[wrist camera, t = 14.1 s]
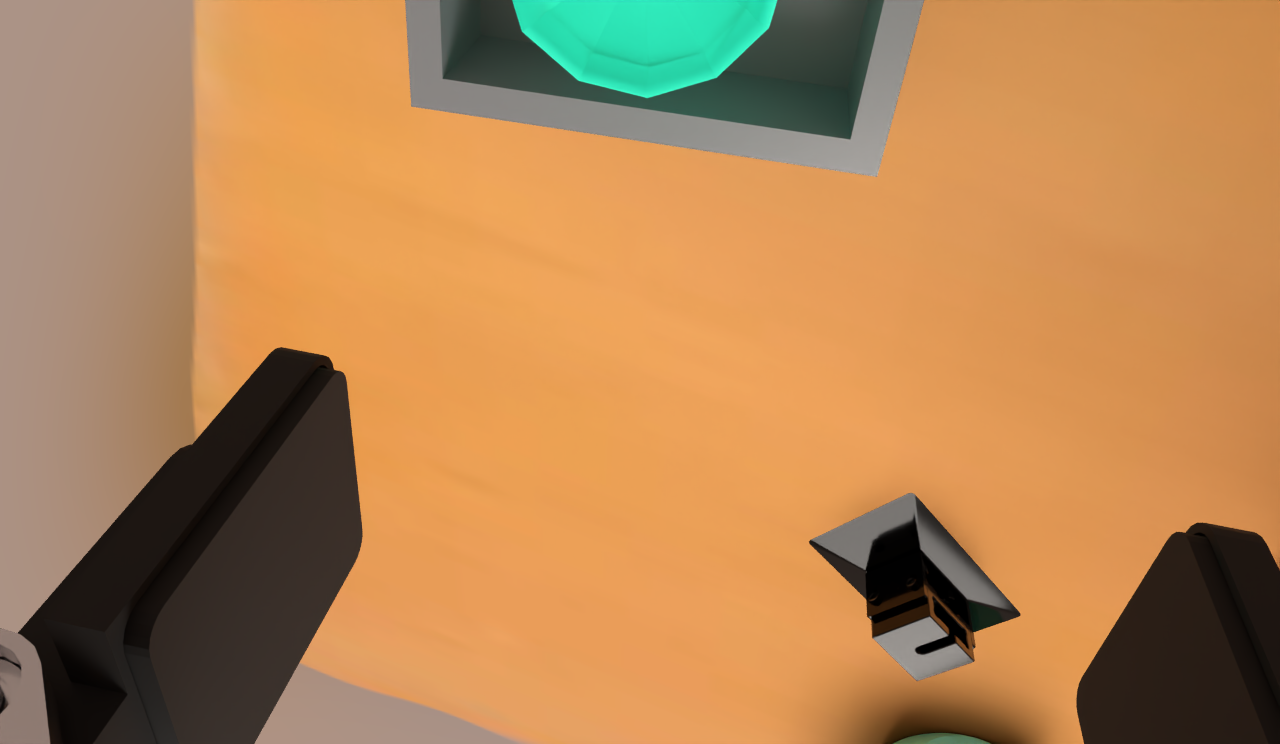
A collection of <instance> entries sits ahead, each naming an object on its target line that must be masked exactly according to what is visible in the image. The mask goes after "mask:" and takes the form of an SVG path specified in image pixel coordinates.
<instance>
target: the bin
mask: <svg viewBox="0 0 1280 744" xmlns="http://www.w3.org/2000/svg"><path fill="white" fill-rule="evenodd" d="M405 3H406V21H407V39H408V56H409V74H410V92H411V106H412V107H418V108H425V109H431V110H438V111H445V112H451V113H458V114H465V115H471V116H478V117H484V118H491V119H498V120H504V121H511V122H518V123H524V124H531V125H537V126H544V127H551V128H557V129H564V130H570V131H577V132H584V133H590V134H597V135H604V136H610V137H617V138H623V139H630V140H637V141H643V142H650V143H657V144H663V145H670V146H676V147H683V148H690V149H696V150H703V151H710V152H716V153H723V154H729V155H736V156H743V157H749V158H756V159H763V160H769V161H776V162H782V163H789V164H796V165H802V166H809V167H815V168H822V169H829V170H835V171H842V172H849V173H855V174H862V175H868V176H875V177H877V175H878V171H879V167H880V164H881V160H882V156H883V152H884V149H885V145H886V141H887V137H888V134H889V130H890V126H891V122H892V119H893V115H894V111H895V108H896V104H897V100H898V96H899V93H900V89H901V85H902V81H903V78H904V74H905V70H906V66H907V63H908V59H909V55H910V51H911V48H912V44H913V40H914V36H915V33H916V29H917V25H918V21H919V18H920V14H921V10H922V6H923V3H924V0H777V3H776V6H775V10H774V13H773V16H772V20H771V23H770V26H769V28H768V29H767V30H766V31H765V32H764V33H763V34H762V35H761V36H760V37H759V38H758V39H757V40H756V41H755V42H754V43H753V44H752V45H751V46H749V47H748V48H747V49H746V50H745V51H744V52H743V53H742V54H741V55H740V56H739V57H738V58H737V59H736V60H735V61H734V62H733V63H732V64H731V65H730V66H728V67H727V68H726V69H725V70H724V71H723V72H722V73H721V74H720V75H719V76H718V77H717V78H714V79H711V80H708V81H704V82H701V83H697V84H694V85H691V86H687V87H684V88H680V89H677V90H674V91H670V92H667V93H663V94H660V95H657V96H653V97H650V98H645V97H641V96H637V95H633V94H629V93H625V92H621V91H617V90H613V89H609V88H605V87H601V86H597V85H593V84H589V83H585V82H581V81H578V80H577V79H576V78H575V77H574V76H572V75H571V74H570V73H569V72H568V71H567V70H565V69H564V68H563V67H562V66H561V65H560V64H559V63H557V62H556V61H555V60H554V59H553V58H552V57H551V56H549V55H548V54H547V53H546V52H545V51H544V50H542V49H541V48H540V47H539V46H538V45H537V44H536V43H534V42H533V41H532V40H531V39H530V38H529V37H528V36H526V35H525V34H524V33H523V32H522V30H521V27H520V24H519V20H518V17H517V14H516V11H515V8H514V4H513V1H512V0H405Z"/></svg>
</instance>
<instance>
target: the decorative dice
mask: <svg viewBox="0 0 1280 744" xmlns="http://www.w3.org/2000/svg"><path fill="white" fill-rule="evenodd" d="M893 744H991V743H989V742H986V741H984V740H981V739H978V738H975V737H971V736H967V735H961V734H953V733H928V734H920V735H915V736H911V737H907V738H904V739H902V740H899V741H897V742H895V743H893Z"/></svg>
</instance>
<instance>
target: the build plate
mask: <svg viewBox="0 0 1280 744" xmlns="http://www.w3.org/2000/svg"><path fill="white" fill-rule="evenodd" d="M809 543H810V545H811V546H812V547H814V548H815V549H816V550H817V551H818V552H819V553H820V554H821V555H822V556H823V557H824V558H825V559H826V560H827V561H828V562H829V563H830V564H831V565H832V566H833V567H834V568H835V569H836V570H837V571H838V572H839V573H840V574H841V575H842V576H843V577H844V578H845V579H846V580H847V581H848V582H849V583H850V584H851V585H852V586H853V587H854V588H855V589H856V590H857V591H858V592H859V593H860V594H861V595H862V596H863V597H864V598H865V599H866V601H867V617H868V618H869V619H870V620H871V625H872V638H873V639H874V640H875V641H876V642H877V643H878V644H879V645H880V646H881V647H882V648H883V649H884V650H885V651H886V652H887V653H888V654H889V655H890V656H891V657H892V658H893V659H895V660H896V661H897V662H898V663H899V664H900V665H901V666H902V667H903V668H904V669H905V670H906V671H907V672H908V673H909V674H910V675H911V676H912V677H913V678H914V679H915V680H916V681H919V680H922V679H925V678H928V677H931V676H934V675H937V674H940V673H942V672H945V671H948V670H951V669H954V668H957V667H960V666H963V665H966V664H969V663H972V662H974V654H973V649H974V648H975V640H974V633H973V632H976V631H979V630H982V629H984V628H987V627H990V626H993V625H996V624H999V623H1002V622H1005V621H1008V620H1010V619H1013V618H1016V617H1019V616H1020V613H1019V611H1018V610H1017V609H1016V608H1015V607H1014V606H1013V605H1012V603H1011V602H1010V601H1009V600H1008V599H1007V598H1006V597H1005V596H1004V594H1003V593H1002V592H1001V591H1000V590H999V589H998V588H997V587H996V585H995V584H994V583H993V582H992V581H991V580H990V579H989V578H988V576H987V575H986V574H985V573H984V572H983V571H982V570H981V569H980V567H979V566H978V565H977V564H976V563H975V562H974V561H973V560H972V558H971V557H970V556H969V555H968V554H967V553H966V552H965V551H964V549H963V548H962V547H961V546H960V545H959V544H958V543H957V542H956V540H955V539H954V538H953V537H952V536H951V535H950V534H949V533H948V531H947V530H946V529H945V528H944V527H943V526H942V525H941V523H940V522H939V521H938V520H937V519H936V518H935V517H934V516H933V514H932V513H931V512H930V511H929V510H928V509H927V508H926V507H925V505H924V504H923V503H922V502H921V501H920V500H919V499H918V498H917V496H916V495H915V494H913V493H908V494H906V495H904V496H902V497H900V498H898V499H896V500H894V501H891V502H889V503H887V504H885V505H883V506H881V507H879V508H877V509H875V510H873V511H870V512H868V513H866V514H864V515H862V516H860V517H858V518H856V519H854V520H852V521H849V522H847V523H845V524H843V525H841V526H839V527H837V528H835V529H833V530H831V531H828V532H826V533H824V534H822V535H820V536H818V537H816V538H814V539H812V540H810V541H809Z"/></svg>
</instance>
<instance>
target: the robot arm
mask: <svg viewBox="0 0 1280 744" xmlns="http://www.w3.org/2000/svg"><path fill="white" fill-rule="evenodd" d="M361 543H362V522H361V512H360V503H359V494H358V484H357V475H356V465H355V456H354V447H353V437H352V428H351V419H350V409H349V400H348V390H347V382H346V377H345V375H344V373H343V372H341V371H336V370H334V368H333V364H332V361H331V360H330V358H329V357H327V356H324V355H319V354H314V353H308V352H303V351H298V350H293V349H287V348H282V347H280V348H277V349H275V350H274V351H272V352H271V353H270V354H269V355H268V356H267V358H266V359H265V360H264V361H263V362H262V363H261V365H260V366H259V367H258V368H257V369H256V370H255V372H254V373H253V374H252V375H251V376H250V378H249V379H248V380H247V381H246V382H245V383H244V385H243V386H242V387H241V388H240V389H239V390H238V392H237V393H236V394H235V395H234V396H233V397H232V399H231V400H230V401H229V402H228V403H227V404H226V406H225V407H224V408H223V409H222V410H221V412H220V413H219V414H218V415H217V416H216V417H215V419H214V420H213V421H212V422H211V423H210V424H209V426H208V427H207V428H206V429H205V430H204V431H203V433H202V434H201V435H200V436H199V437H198V438H197V440H196V441H195V442H194V443H193V444H192V445H188V446H185V447H183V448H180V449H179V450H178V451H177V452H176V453H175V454H173V455H172V456H171V457H170V458H169V459H168V460H167V462H166V463H165V464H164V465H163V466H162V467H161V468H160V470H159V471H158V472H157V473H156V474H155V476H154V477H153V478H152V479H151V480H150V481H149V482H148V483H147V485H146V486H145V487H144V488H143V489H142V490H141V492H140V493H139V494H138V495H137V496H136V497H135V498H134V500H133V501H132V502H131V503H130V504H129V505H128V507H127V508H126V509H125V510H124V511H123V512H122V513H121V515H120V516H119V517H118V518H117V519H116V520H115V522H114V523H113V524H112V525H111V526H110V527H109V529H108V530H107V531H106V532H105V533H104V534H103V535H102V536H101V538H100V539H99V540H98V541H97V542H96V544H95V545H94V546H93V547H92V548H91V549H90V550H89V551H88V553H87V554H86V555H85V556H84V557H83V558H82V560H81V561H80V562H79V563H78V564H77V565H76V566H75V568H74V569H73V570H72V571H71V572H70V573H69V575H68V576H67V577H66V578H65V579H64V580H63V581H62V583H61V584H60V585H59V586H58V587H57V588H56V590H55V591H54V592H53V593H52V594H51V595H50V596H49V598H48V599H47V600H46V601H45V602H44V603H43V605H42V606H41V607H40V608H39V609H38V610H37V611H36V613H35V614H34V615H33V616H32V617H31V618H30V619H29V621H28V622H27V623H26V624H25V625H24V627H23V628H22V629H21V630H20V631H19V632H18V633H15V632H11V631H8V630H5V629H2V628H0V744H254V743H255V741H256V739H257V738H258V736H259V734H260V732H261V730H262V728H263V727H264V725H265V723H266V721H267V720H268V718H269V716H270V714H271V713H272V711H273V709H274V707H275V705H276V704H277V702H278V700H279V698H280V696H281V695H282V693H283V691H284V689H285V687H286V686H287V684H288V682H289V680H290V678H291V677H292V675H293V673H294V671H295V669H296V668H297V666H298V664H299V662H300V660H301V659H302V657H303V655H304V653H305V651H306V650H307V648H308V646H309V644H310V642H311V641H312V639H313V637H314V635H315V633H316V632H317V630H318V628H319V626H320V624H321V623H322V621H323V619H324V617H325V615H326V614H327V612H328V610H329V608H330V606H331V605H332V603H333V601H334V599H335V597H336V596H337V594H338V592H339V590H340V588H341V587H342V585H343V583H344V581H345V579H346V578H347V576H348V574H349V572H350V570H351V569H352V567H353V565H354V563H355V561H356V559H357V557H358V554H359V551H360V547H361ZM1077 713H1078V718H1079V722H1080V727H1081V731H1082V736H1083V740H1084V744H1280V571H1279V568H1278V566H1277V564H1276V562H1275V560H1274V558H1273V556H1272V554H1271V552H1270V550H1269V548H1268V546H1267V544H1266V542H1265V541H1264V539H1263V538H1262V537H1261V536H1260V535H1258V534H1257V533H1255V532H1250V531H1244V530H1239V529H1234V528H1229V527H1223V526H1218V525H1213V524H1208V523H1196V524H1194V525H1192V526H1191V527H1190V528H1189V529H1188V530H1187V532H1186V533H1183V532H1176V533H1174V534H1172V535H1171V536H1170V538H1169V539H1168V540H1167V542H1166V543H1165V545H1164V546H1163V548H1162V550H1161V551H1160V553H1159V554H1158V556H1157V558H1156V559H1155V561H1154V562H1153V564H1152V566H1151V567H1150V569H1149V571H1148V572H1147V574H1146V575H1145V577H1144V579H1143V580H1142V582H1141V583H1140V585H1139V587H1138V588H1137V590H1136V591H1135V593H1134V595H1133V596H1132V598H1131V599H1130V601H1129V603H1128V604H1127V606H1126V607H1125V609H1124V611H1123V612H1122V614H1121V616H1120V617H1119V619H1118V620H1117V622H1116V624H1115V625H1114V627H1113V628H1112V630H1111V632H1110V633H1109V635H1108V636H1107V638H1106V640H1105V641H1104V643H1103V644H1102V646H1101V648H1100V649H1099V651H1098V652H1097V654H1096V656H1095V657H1094V659H1093V661H1092V662H1091V664H1090V665H1089V667H1088V669H1087V670H1086V672H1085V673H1084V675H1083V677H1082V679H1081V681H1080V683H1079V687H1078V691H1077Z"/></svg>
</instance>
